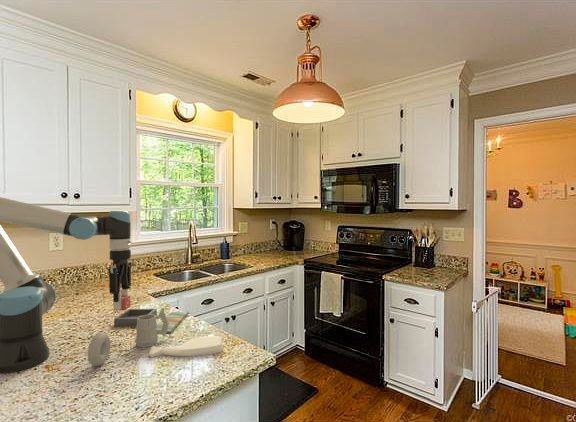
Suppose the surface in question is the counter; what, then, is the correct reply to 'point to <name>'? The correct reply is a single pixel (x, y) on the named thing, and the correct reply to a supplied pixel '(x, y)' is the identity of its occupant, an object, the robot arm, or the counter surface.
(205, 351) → the beige tapered paddle
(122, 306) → the die
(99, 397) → the counter surface
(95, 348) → the donut
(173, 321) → the board
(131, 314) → the tray
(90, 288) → the counter surface
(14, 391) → the counter surface
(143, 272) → the counter surface
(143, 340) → the mug
